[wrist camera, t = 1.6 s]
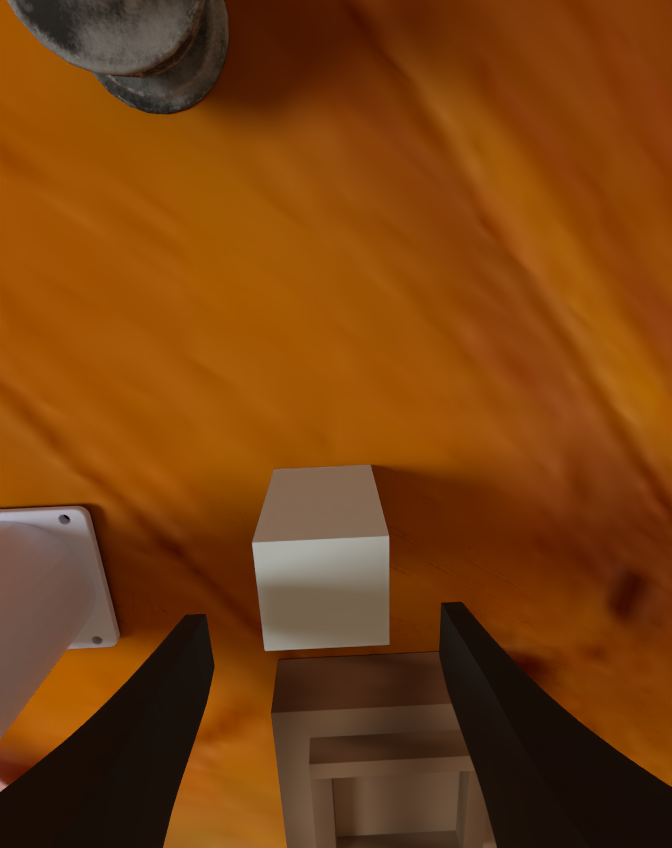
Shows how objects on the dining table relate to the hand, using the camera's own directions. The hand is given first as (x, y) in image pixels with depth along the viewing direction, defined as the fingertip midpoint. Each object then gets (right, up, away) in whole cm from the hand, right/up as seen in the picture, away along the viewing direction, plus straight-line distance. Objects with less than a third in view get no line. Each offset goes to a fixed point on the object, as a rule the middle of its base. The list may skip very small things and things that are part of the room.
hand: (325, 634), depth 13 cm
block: (0, +2, +7) cm, 8 cm away
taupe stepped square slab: (+3, -12, +12) cm, 17 cm away
